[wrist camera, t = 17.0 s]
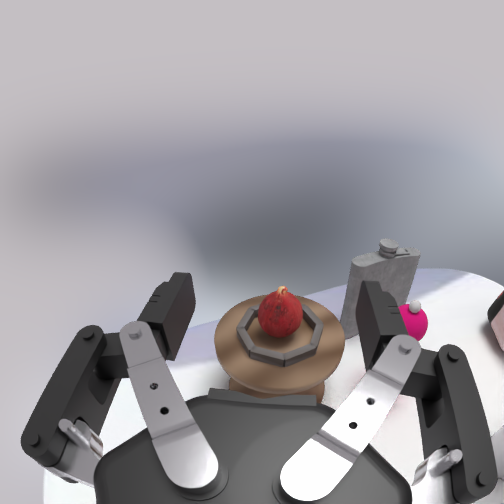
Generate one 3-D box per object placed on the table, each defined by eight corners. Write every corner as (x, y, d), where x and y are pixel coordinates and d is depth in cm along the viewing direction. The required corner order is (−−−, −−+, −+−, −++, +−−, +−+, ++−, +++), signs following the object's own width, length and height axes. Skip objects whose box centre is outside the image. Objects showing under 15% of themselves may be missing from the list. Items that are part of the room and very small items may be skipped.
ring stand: (348, 405, 42) (373, 345, 34) (248, 450, 36) (243, 402, 28) (297, 339, 56) (303, 275, 49) (210, 368, 50) (197, 305, 43)
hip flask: (341, 340, 55) (360, 254, 45) (333, 327, 59) (348, 243, 49) (401, 322, 58) (426, 242, 48) (392, 311, 62) (413, 233, 52)
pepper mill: (394, 408, 40) (440, 324, 30) (355, 398, 43) (389, 312, 33) (400, 377, 45) (439, 291, 36) (365, 368, 48) (394, 281, 39)
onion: (293, 354, 36) (298, 308, 32) (251, 343, 38) (249, 297, 34) (304, 325, 40) (310, 279, 36) (266, 316, 42) (267, 271, 38)
